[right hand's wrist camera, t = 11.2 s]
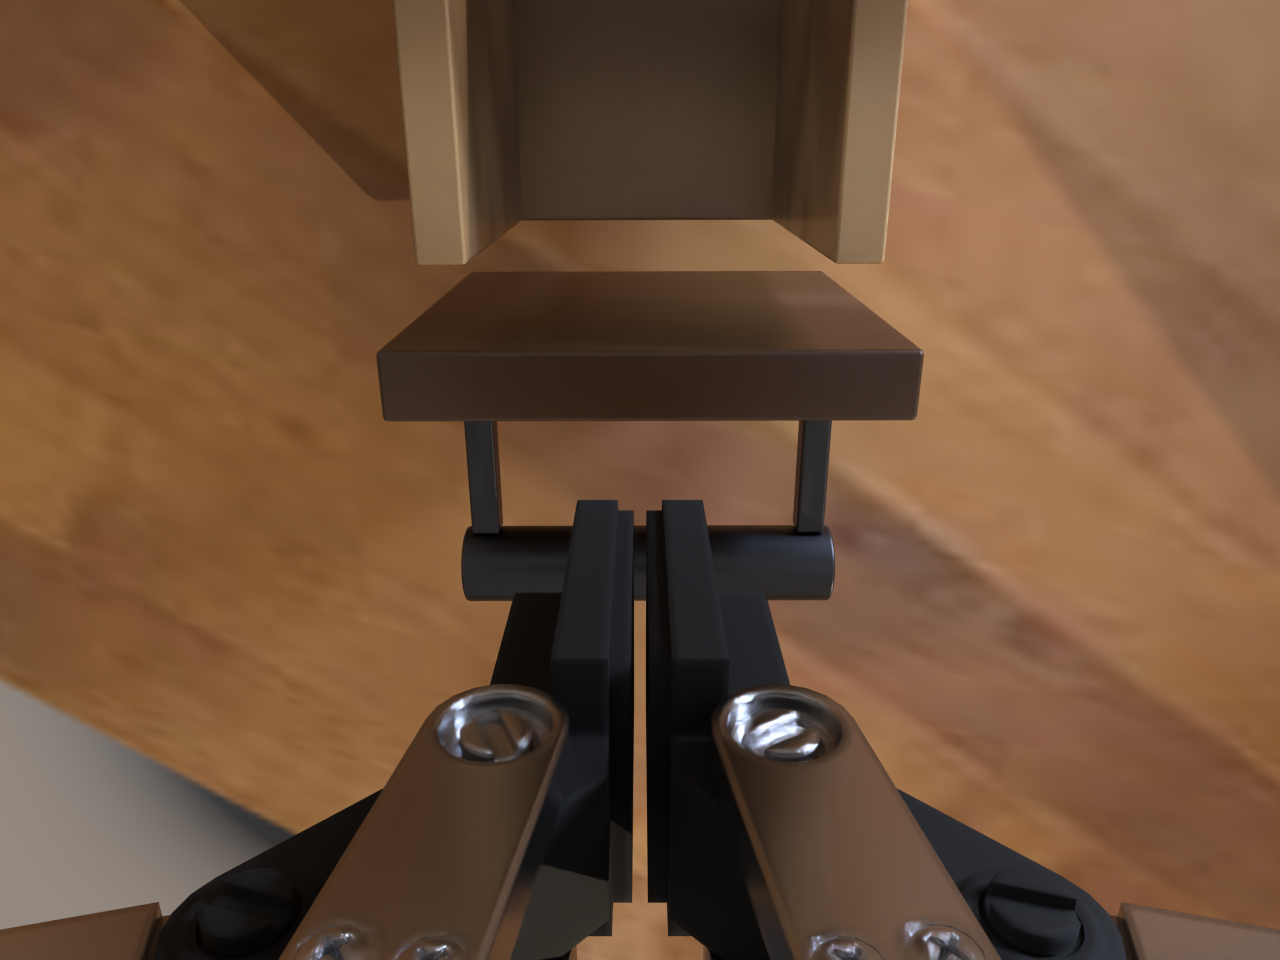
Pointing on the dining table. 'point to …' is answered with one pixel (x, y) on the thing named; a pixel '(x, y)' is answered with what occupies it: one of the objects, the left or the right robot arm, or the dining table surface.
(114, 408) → the dining table surface
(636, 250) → the dining table surface
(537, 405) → the drawer
